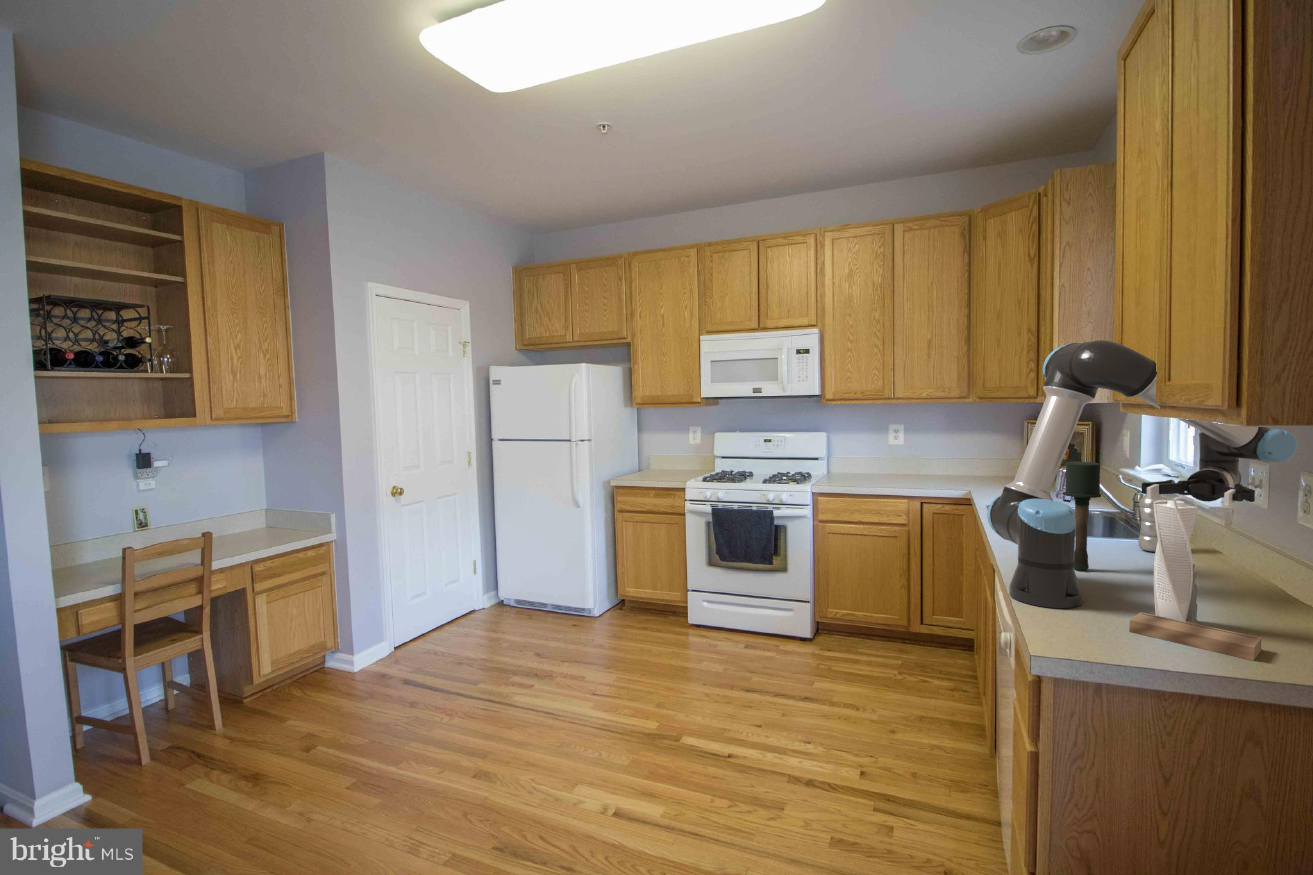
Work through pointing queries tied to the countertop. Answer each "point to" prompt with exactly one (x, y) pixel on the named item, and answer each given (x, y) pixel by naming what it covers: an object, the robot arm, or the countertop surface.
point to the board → (1197, 635)
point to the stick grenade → (1082, 503)
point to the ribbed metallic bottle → (1148, 524)
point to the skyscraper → (1175, 561)
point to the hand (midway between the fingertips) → (1186, 496)
